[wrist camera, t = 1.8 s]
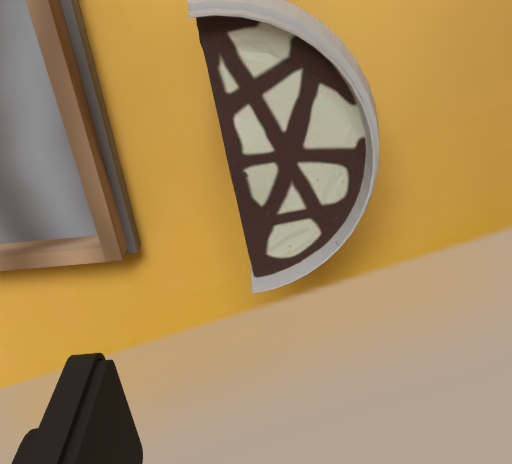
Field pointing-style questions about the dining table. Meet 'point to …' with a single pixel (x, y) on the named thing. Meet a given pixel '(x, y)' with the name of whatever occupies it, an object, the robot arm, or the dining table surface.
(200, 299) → the dining table surface
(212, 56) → the food container
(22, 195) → the board
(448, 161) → the dining table surface
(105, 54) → the dining table surface
